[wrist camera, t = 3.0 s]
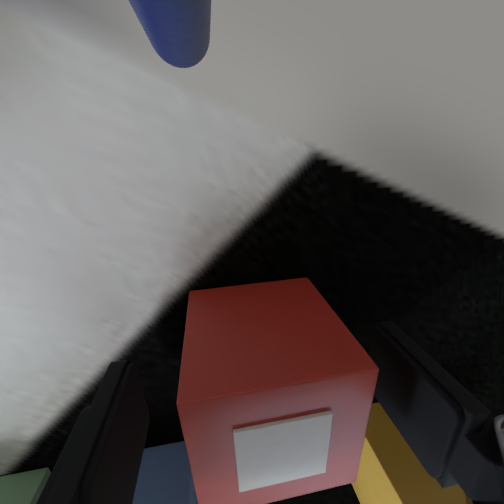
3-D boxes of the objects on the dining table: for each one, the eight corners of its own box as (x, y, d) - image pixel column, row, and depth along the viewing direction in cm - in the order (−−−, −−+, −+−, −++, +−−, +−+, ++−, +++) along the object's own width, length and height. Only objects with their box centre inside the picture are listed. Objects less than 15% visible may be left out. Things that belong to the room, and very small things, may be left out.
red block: (189, 290, 10) (175, 409, 6) (307, 276, 11) (382, 371, 6) (202, 380, 12) (200, 524, 8) (302, 363, 13) (357, 486, 8)
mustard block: (349, 407, 15) (415, 526, 10) (425, 392, 16) (519, 497, 11) (340, 459, 17) (392, 579, 12) (408, 444, 17) (482, 551, 13)
